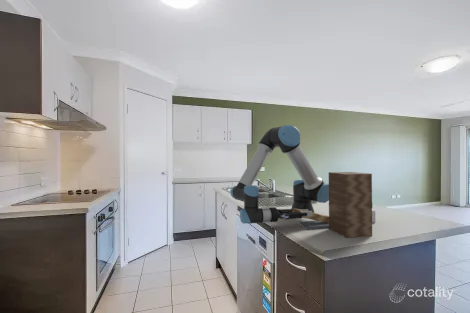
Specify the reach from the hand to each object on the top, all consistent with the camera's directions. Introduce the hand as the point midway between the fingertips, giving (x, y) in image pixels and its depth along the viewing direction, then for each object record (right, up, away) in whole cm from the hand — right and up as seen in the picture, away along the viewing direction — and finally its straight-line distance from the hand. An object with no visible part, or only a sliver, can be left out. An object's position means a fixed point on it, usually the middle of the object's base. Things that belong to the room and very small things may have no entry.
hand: (309, 212), depth 128 cm
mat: (+4, -8, +1) cm, 8 cm away
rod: (+3, -4, 0) cm, 5 cm away
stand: (+17, -8, -10) cm, 21 cm away
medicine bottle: (+37, -8, +10) cm, 39 cm away
